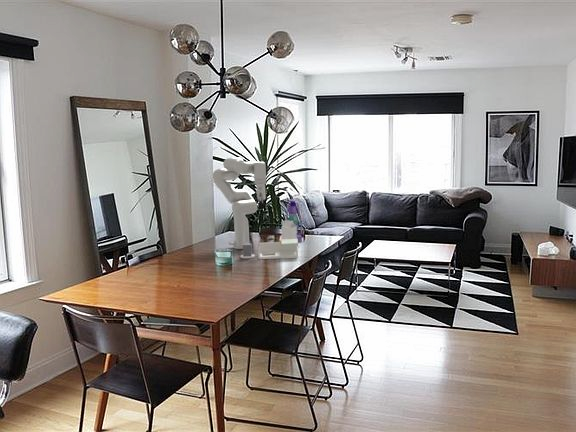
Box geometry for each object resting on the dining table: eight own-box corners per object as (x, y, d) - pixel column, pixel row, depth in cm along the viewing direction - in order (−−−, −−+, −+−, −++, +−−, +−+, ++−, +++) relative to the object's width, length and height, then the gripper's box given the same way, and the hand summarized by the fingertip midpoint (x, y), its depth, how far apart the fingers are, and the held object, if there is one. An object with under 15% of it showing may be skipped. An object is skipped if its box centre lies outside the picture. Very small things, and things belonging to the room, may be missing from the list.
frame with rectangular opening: (258, 259, 344) (257, 247, 343) (259, 254, 359) (259, 242, 358) (298, 257, 344) (297, 245, 343) (297, 252, 359) (297, 241, 358)
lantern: (289, 243, 391) (288, 200, 386) (281, 241, 401) (280, 199, 397) (306, 241, 397) (305, 198, 393) (298, 239, 407) (296, 197, 403)
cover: (279, 246, 343) (279, 240, 343) (280, 241, 358) (280, 236, 358) (298, 245, 343) (297, 239, 343) (297, 240, 358) (297, 235, 358)
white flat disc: (239, 258, 348) (239, 257, 347) (241, 255, 356) (241, 254, 356) (254, 258, 347) (254, 256, 347) (255, 255, 356) (255, 253, 356)
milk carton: (290, 250, 366) (289, 221, 364) (282, 249, 370) (281, 221, 368) (297, 248, 372) (296, 220, 369) (288, 248, 376) (287, 219, 373)
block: (243, 256, 349) (242, 245, 348) (244, 254, 354) (243, 243, 353) (251, 256, 349) (250, 244, 348) (252, 254, 354) (251, 243, 353)
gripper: (265, 182, 352) (266, 209, 354) (266, 180, 369) (267, 206, 371) (253, 182, 352) (254, 210, 354) (255, 180, 369) (256, 206, 371)
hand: (261, 208), depth 362 cm, fingers open, 9 cm apart
